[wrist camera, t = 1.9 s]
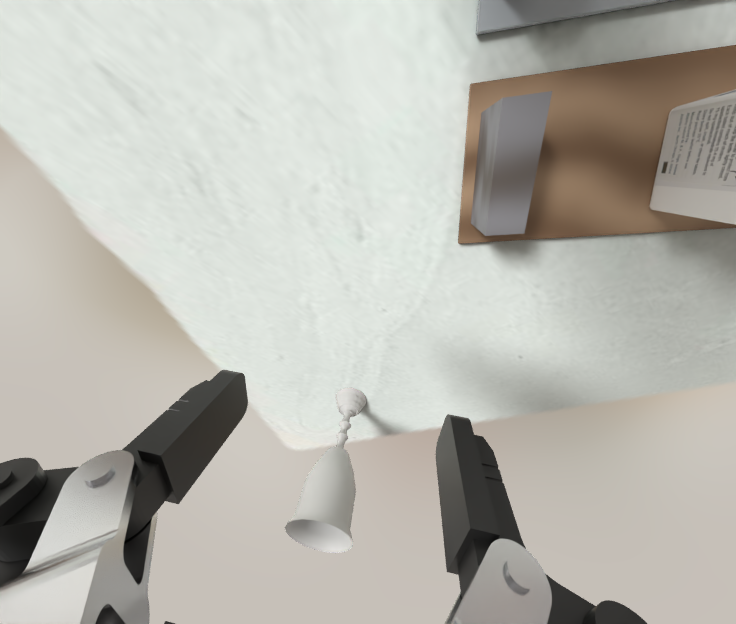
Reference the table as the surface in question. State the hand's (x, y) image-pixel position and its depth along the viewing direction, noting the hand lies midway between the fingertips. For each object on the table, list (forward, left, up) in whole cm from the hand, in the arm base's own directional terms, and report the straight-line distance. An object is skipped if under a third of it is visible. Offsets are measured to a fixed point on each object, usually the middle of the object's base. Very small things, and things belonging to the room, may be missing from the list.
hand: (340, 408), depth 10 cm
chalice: (+24, -7, -22) cm, 34 cm away
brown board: (-7, +22, -22) cm, 32 cm away
